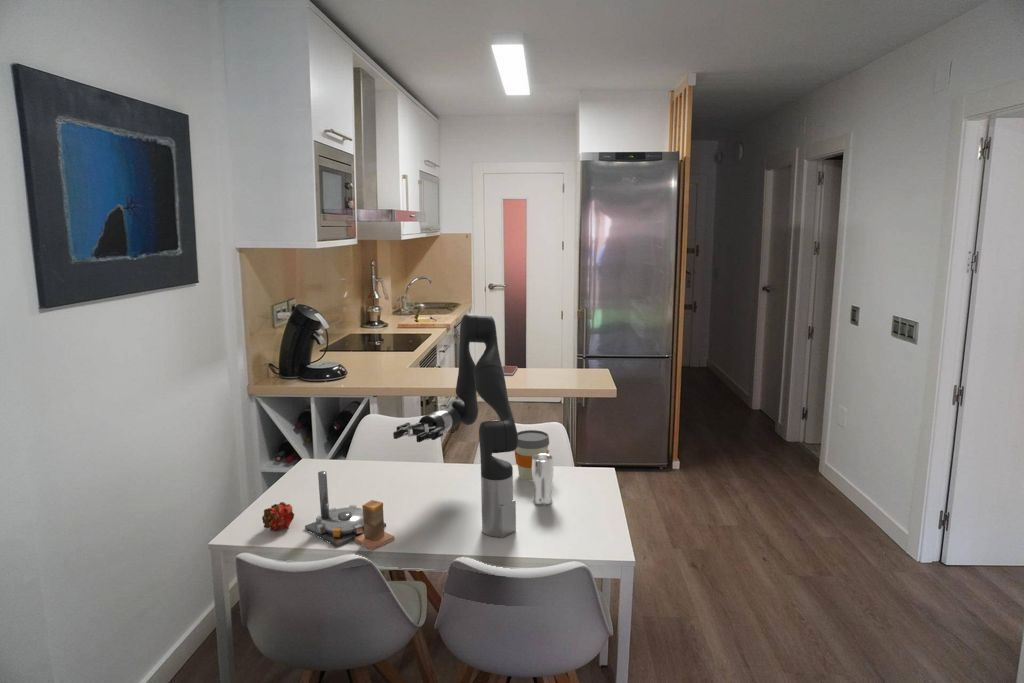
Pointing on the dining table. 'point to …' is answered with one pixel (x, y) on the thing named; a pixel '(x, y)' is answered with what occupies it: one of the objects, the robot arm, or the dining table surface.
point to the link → (373, 520)
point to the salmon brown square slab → (374, 544)
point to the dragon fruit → (278, 516)
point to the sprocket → (337, 514)
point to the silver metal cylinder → (542, 478)
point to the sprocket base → (329, 537)
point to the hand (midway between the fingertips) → (405, 437)
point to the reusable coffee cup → (529, 450)
